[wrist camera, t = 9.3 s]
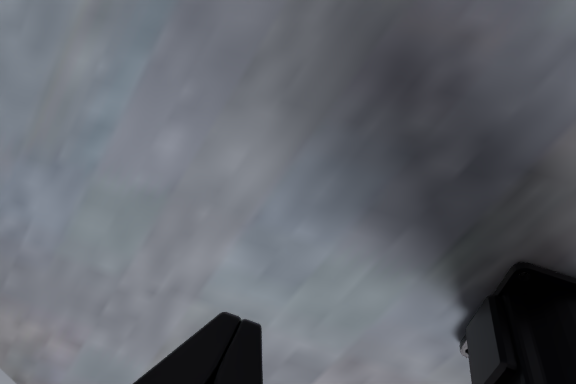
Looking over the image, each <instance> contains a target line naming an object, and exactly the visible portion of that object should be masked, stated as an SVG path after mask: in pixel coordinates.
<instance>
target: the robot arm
mask: <svg viewBox="0 0 576 384" xmlns="http://www.w3.org/2000/svg"><path fill="white" fill-rule="evenodd" d="M523 272H526V273H527V274H526V275H519V274H520V273H523ZM460 352H461V354H462V355H463V356H465V357H466V358H469V364H470V372H471V381H472V384H576V279H575V278H572V277H569V276H566V275H563V274H560V273H557V272H554V271H551V270H548V269H545V268H542V267H539V266H536V265H533V264H529V263H525V262H522V263H517V264H515V265H514V266H513V267H512V268H511V269H510V271H509V272H508V274H507V275H506V276H505V278H504V279H503V281H502V282H501V284H500V285H499V287H498V288H497V290H496V291H495V293H494V294H492V295H490V296H488V297H487V298H486V299H485V301H484V302H483V304H482V305H481V307H480V308H479V310H478V311H477V313H476V314H475V316H474V317H473V319H472V320H471V322H470V323H469V324H468V326H467V327H466V335H465V337H464V338H463V339H462V341H461V342H460ZM133 384H263V373H262V331H261V325H260V324H258V323H255V322H253V321H250V320H247V319H243V320H242V321H241V318H240V317H239V316H236V315H233V314H230V313H228V312H222V313H220V314H219V315H217V316H216V317H215V318H214V319H213V320H211V321H210V322H209V323H208V324H206V325H205V326H204V327H203V328H201V329H200V330H199V331H198V332H196V333H195V334H194V335H193V336H191V337H190V338H189V339H188V340H187V341H185V342H184V343H183V344H182V345H180V346H179V347H178V348H177V349H175V350H174V351H173V352H172V353H170V354H169V355H168V356H167V357H165V358H164V359H163V360H162V361H160V362H159V363H158V364H157V365H156V366H154V367H153V368H152V369H151V370H149V371H148V372H147V373H146V374H144V375H143V376H142V377H141V378H139V379H138V380H137V381H136V382H134V383H133Z"/></svg>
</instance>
